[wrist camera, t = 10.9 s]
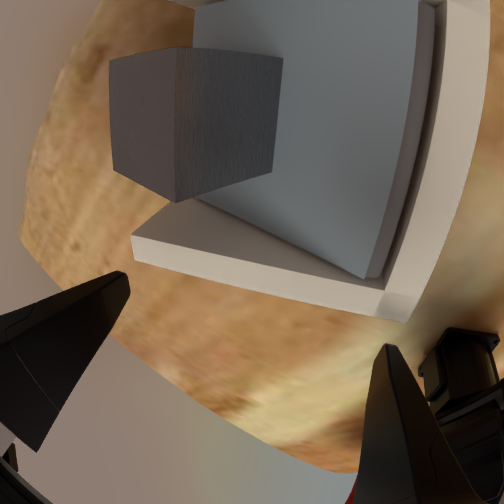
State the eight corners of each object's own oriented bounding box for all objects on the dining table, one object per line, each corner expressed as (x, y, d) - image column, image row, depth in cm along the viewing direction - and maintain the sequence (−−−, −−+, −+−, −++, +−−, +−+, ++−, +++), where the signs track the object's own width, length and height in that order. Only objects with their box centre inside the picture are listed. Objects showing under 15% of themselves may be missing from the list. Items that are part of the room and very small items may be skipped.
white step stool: (432, 19, 11) (488, -15, 4) (390, 238, 19) (407, 323, 12) (206, -6, 13) (128, -40, 7) (198, 199, 21) (134, 260, 15)
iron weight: (283, 58, 10) (176, 46, 7) (272, 172, 13) (175, 203, 10) (202, 57, 13) (109, 60, 9) (198, 148, 15) (113, 170, 12)
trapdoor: (437, 9, 6) (432, -1, 5) (382, 274, 12) (374, 284, 11) (209, 10, 12) (194, 7, 11) (202, 190, 18) (189, 194, 17)
